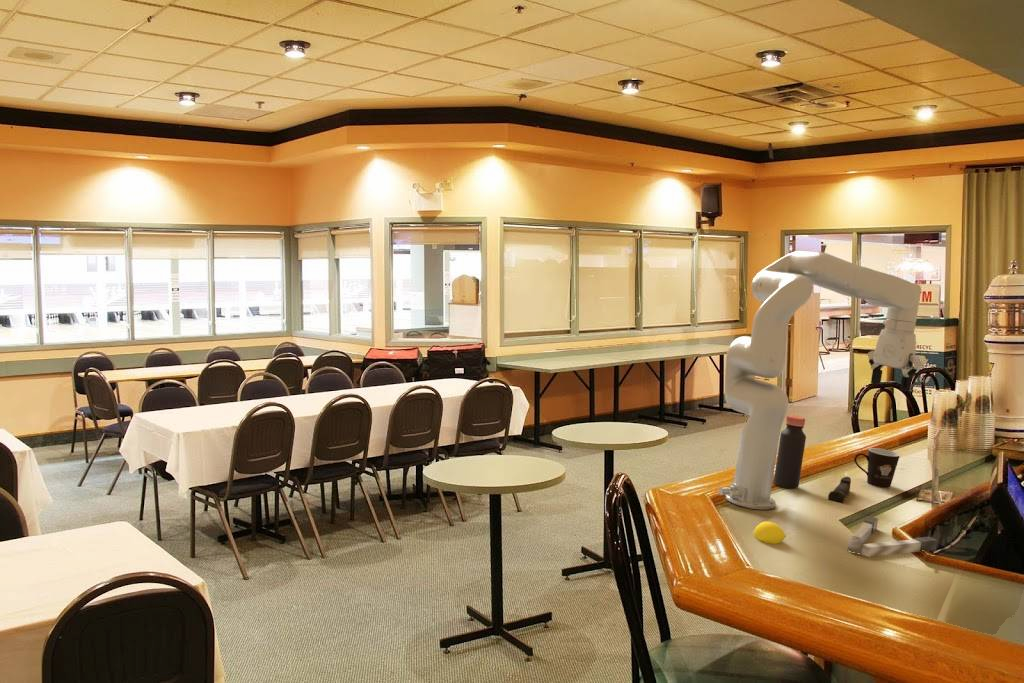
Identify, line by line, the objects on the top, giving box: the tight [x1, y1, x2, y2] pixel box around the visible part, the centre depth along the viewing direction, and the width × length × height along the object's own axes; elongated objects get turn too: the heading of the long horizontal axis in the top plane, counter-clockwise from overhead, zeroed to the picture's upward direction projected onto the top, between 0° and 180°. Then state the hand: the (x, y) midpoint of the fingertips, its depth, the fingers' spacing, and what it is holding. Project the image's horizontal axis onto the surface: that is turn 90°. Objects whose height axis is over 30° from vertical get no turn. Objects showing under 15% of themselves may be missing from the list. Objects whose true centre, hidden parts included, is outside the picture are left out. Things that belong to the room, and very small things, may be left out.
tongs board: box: [847, 536, 938, 558], centre depth 187 cm, size 28×20×4 cm
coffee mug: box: [853, 447, 901, 489], centre depth 245 cm, size 12×9×10 cm
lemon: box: [753, 520, 787, 545], centre depth 181 cm, size 7×5×5 cm
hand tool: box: [827, 476, 852, 505], centre depth 226 cm, size 19×4×5 cm, turn 147°
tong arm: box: [851, 515, 879, 544], centre depth 190 cm, size 18×2×3 cm, turn 146°
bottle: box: [773, 414, 807, 490], centre depth 231 cm, size 7×7×20 cm
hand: (889, 387), depth 228 cm, fingers open, 9 cm apart
